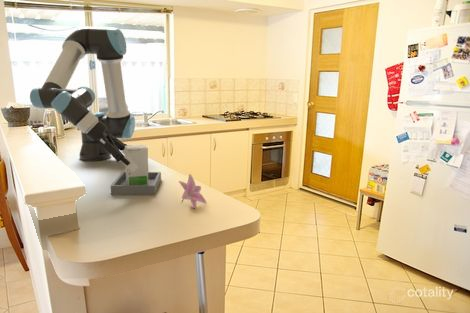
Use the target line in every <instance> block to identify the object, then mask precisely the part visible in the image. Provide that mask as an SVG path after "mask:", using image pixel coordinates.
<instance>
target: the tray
mask: <svg viewBox="0 0 470 313" xmlns="http://www.w3.org/2000/svg"><path fill="white" fill-rule="evenodd" d="M161 181H162V172H161V171H148V185H127V184H126V171H122V172H121V173H120V174H119V175H118V176H117V178H115V180H114V181H113V182H112V184H111V185H110V195H112V196H124V195H125V196H126V195H127V196H129V195H131V196H135V195H136V196H139V195H140V196H143V195H144V196H146V195H148V196H149V195H150V196H151V195H153V196H155V195H156V192H157V191H158V188H159V186H160V183H161Z"/></svg>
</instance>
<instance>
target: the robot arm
mask: <svg viewBox="0 0 470 313" xmlns="http://www.w3.org/2000/svg"><path fill="white" fill-rule="evenodd" d="M61 48H62V50H61V52H60V54H59V56H58V57H57V59H56V61H55V63H54V65H53V66H52V69H51V70H50V72H49V73H48V76H47V77H46V79H45V82H44V83H43V85H42V87H38V88H36V87H35V88H32V89H31V91H30V94H29V99H30V100H29V101H30V103H31V105H32V106H33V107H35V108H37V109H54V110H55V111H56V112H57V113H58V114H59V115H61V116H62V117H63V118H65V119H66V120H67V121H69V123H70V124H72V125H73V126H74V127H75V128H76V130H77V131H78V132H79V131H80V133H81V147H80V151H79V159H80V160H82V161H87V162H88V161H89V162H90V161H92V162H95V161H103V160H107V159H110V158H111V156H112V157H113V158H114V160H115V162H116V163H119V162H120V163H122V165H124V166H125V168H126V167H127V168H129V169H130V170H131V171H132V172H134V171H135V170H136V169H137V168H138V166H137V165H136V164H135V163H133V162H132V161H131V160H130V159H129V158H128V157H126V156H125V145H128V144H127V143H124V142H123V141H121V140H125V139H131V138H132V137H133V135H134V132H135V127H136V119H135V116H133V115H131V112H130V110H128V109H127V103H126V96H125V87H124V80H123V74H122V66H121V64H122V63H121V61H122V60H123V59H124V55H126V54H127V42H126V38H125V35H124V33H123V32H122V30H121V29H119V28H117V27H110V26H109V27H108V26H107V27H105V26H103V27H102V26H100V27H98V26H97V27H96V26H94V27H93V26H84V27H81V28H78V29H77V30H73V32H72V33H70V34H69V35H68V36H67V37H66V39H65V40H64V41H63V43H62V47H61ZM89 54H91V55H96V60H98V61H99V62H100V63H101V70H102V77H103V83H104V84H103V85H104V91H105V96H106V102H107V103H106V104H107V109H108V110H107V112H106V113H105V112H103V111H102V112H91V111H90V110H89V109H88V108H89V107H91V106H92V105H93V103H94V102H95V100H96V94H95V92H94V91H93V89H91V88H90V87H88V86H80V87H77V88H76V89H75V88H67V87H68V85H69V84H70V81H71V79H72V77H73V75H74V73H75V71H76V69H77V67H78V65H79V62H80V61H81V60H83V59H84V58H85V56H86V55H89ZM119 139H121V140H119Z"/></svg>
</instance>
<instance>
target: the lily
mask: <svg viewBox="0 0 470 313" xmlns="http://www.w3.org/2000/svg"><path fill="white" fill-rule="evenodd" d="M187 179H188V180H187V183H186V182H185V181H181V180H179V181H178V183H179V184H180V186H181V187H182V188H183V190H184V191H183V193H182V195H181V199H182V200H181V202H182V203H183V202H184V200H187V201H189V200H190V203H191V204H192V207H193V209H194V208H195V209H196V208H197V203H198V202H199V203H202V204H205V203H206V204H207V200H206V199H205V197H204V196H203V195H202V194H201V190H202V186H201V185H196V182H195V180H194V178H193V176H192V174H191V173H189V174H188V178H187Z"/></svg>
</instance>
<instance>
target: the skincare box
mask: <svg viewBox="0 0 470 313" xmlns="http://www.w3.org/2000/svg"><path fill="white" fill-rule="evenodd" d="M148 152H149V148H148V146H147V145H146V144H144V145H143V144H132V145H131V144H130V145H129V144H127V145H125V156H126V157H128V158H129V159H130V160H131V161H132V162H133V163H135V164H136V165H137V166H138V168H137V169H136V170H135V171H134V172H132V171H131V170H130V169H129V168H127V167H126V166H125V172H126V184H127V185H148V172H149V153H148Z"/></svg>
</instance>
